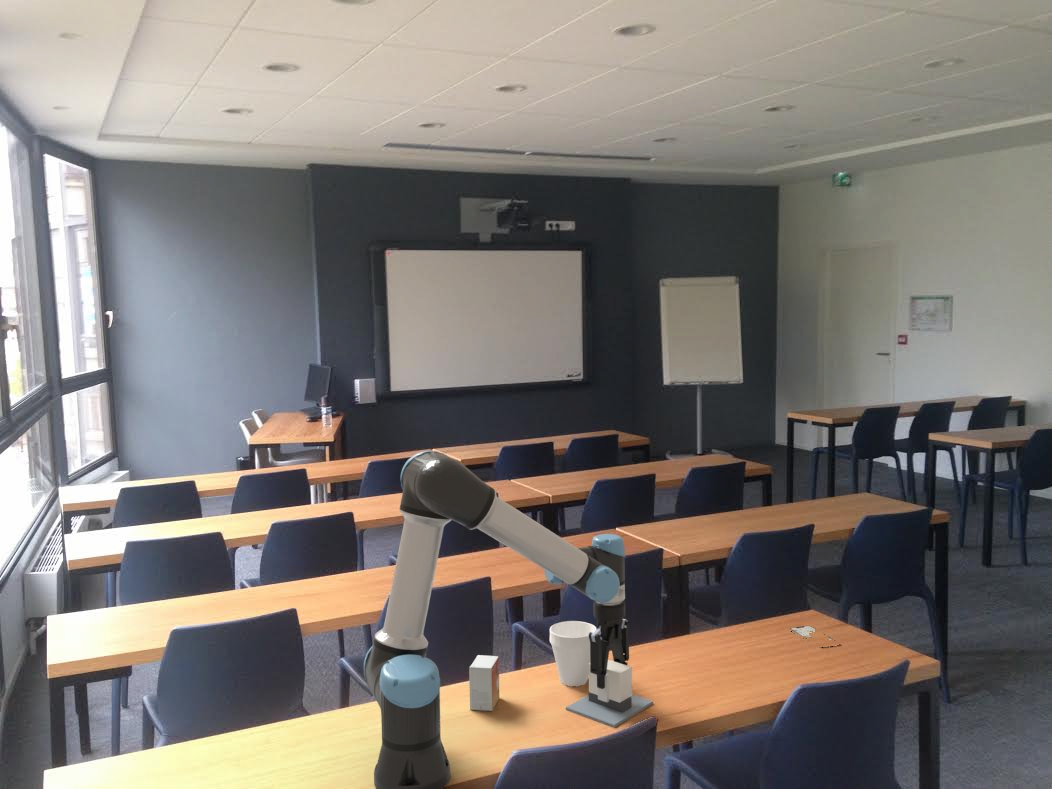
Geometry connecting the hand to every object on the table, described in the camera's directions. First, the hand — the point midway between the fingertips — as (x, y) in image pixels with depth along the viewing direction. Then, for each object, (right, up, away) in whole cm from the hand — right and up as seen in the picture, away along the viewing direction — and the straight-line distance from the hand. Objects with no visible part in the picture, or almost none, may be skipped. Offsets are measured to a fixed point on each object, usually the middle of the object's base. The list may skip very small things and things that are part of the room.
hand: (610, 696), depth 198 cm
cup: (-8, -2, +15) cm, 17 cm away
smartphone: (+64, +1, +43) cm, 77 cm away
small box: (-30, -3, +3) cm, 30 cm away
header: (0, -3, 0) cm, 3 cm away
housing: (0, +1, 0) cm, 1 cm away
